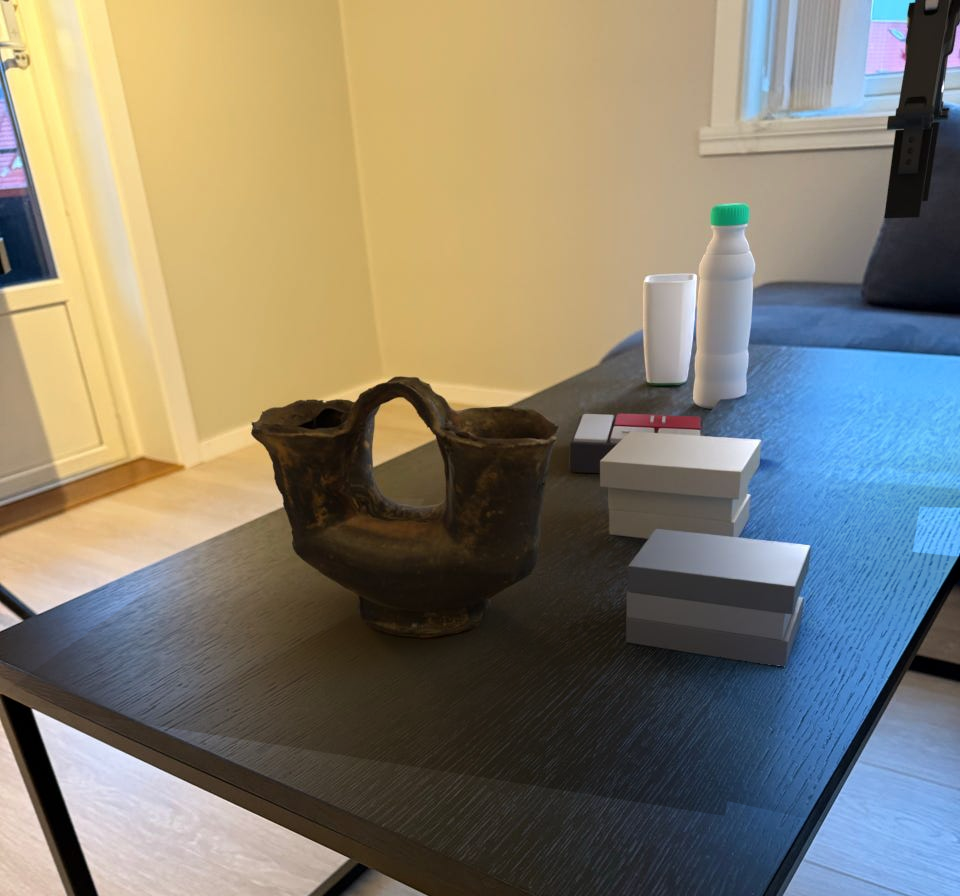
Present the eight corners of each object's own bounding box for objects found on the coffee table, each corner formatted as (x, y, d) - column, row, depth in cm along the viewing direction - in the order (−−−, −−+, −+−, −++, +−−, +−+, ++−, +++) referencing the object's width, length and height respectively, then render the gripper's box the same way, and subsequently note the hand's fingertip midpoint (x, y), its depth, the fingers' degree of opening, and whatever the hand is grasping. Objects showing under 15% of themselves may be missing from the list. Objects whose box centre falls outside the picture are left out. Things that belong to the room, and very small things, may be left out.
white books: (749, 519, 92) (752, 468, 90) (732, 548, 86) (736, 495, 84) (630, 507, 97) (631, 459, 94) (608, 534, 91) (607, 483, 89)
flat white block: (759, 465, 90) (761, 439, 89) (739, 499, 83) (741, 471, 82) (630, 455, 95) (630, 431, 94) (599, 487, 88) (599, 460, 87)
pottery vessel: (262, 627, 79) (213, 393, 69) (321, 573, 88) (285, 359, 78) (545, 658, 71) (535, 400, 61) (579, 596, 80) (575, 361, 70)
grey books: (802, 621, 73) (811, 544, 70) (786, 668, 68) (795, 586, 64) (652, 601, 78) (654, 528, 75) (625, 642, 72) (626, 565, 69)
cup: (692, 376, 142) (697, 272, 135) (691, 388, 136) (695, 280, 129) (644, 376, 144) (646, 274, 137) (640, 388, 138) (642, 282, 130)
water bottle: (700, 395, 132) (709, 202, 120) (750, 398, 129) (765, 200, 117) (686, 409, 127) (695, 208, 115) (739, 412, 124) (753, 206, 112)
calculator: (705, 442, 102) (569, 435, 105) (701, 479, 104) (568, 472, 107) (705, 413, 112) (580, 408, 114) (701, 448, 114) (579, 442, 117)
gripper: (907, -63, 84) (875, 196, 94) (883, -106, 65) (846, 226, 75) (1001, -76, 81) (957, 193, 91) (1005, -125, 62) (949, 224, 72)
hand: (907, 209), depth 83 cm, fingers open, 13 cm apart
